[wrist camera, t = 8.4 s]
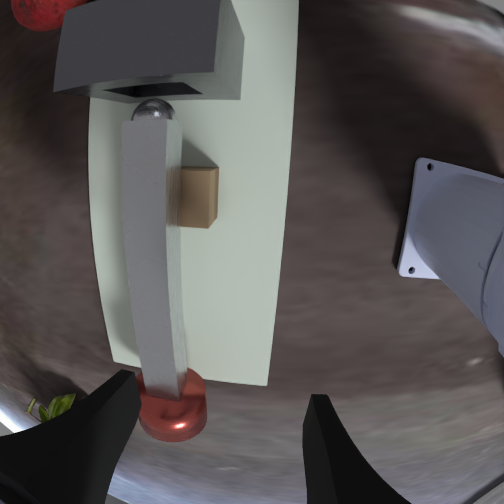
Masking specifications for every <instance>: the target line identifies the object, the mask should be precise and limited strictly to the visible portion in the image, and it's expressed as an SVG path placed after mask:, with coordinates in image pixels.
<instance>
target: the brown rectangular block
mask: <svg viewBox="0 0 504 504" xmlns="http://www.w3.org/2000/svg"><path fill="white" fill-rule="evenodd" d="M218 185H219V167H197V166H181V196H180V227H191V228H205V229H209V227H210V226H211V225H212V224H213V222H214V221H215V220H216V219H217V213H218Z"/></svg>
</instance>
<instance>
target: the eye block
mask: <svg viewBox="0 0 504 504" xmlns="http://www.w3.org/2000/svg"><path fill="white" fill-rule="evenodd" d="M244 41H245V37H244V34H243V31H242V28H241V26H240V23H239V20H238V17H237V15H236V12H235V9H234V7H233V4H232V1H231V0H97V1H94V2H90V3H87V4H84V5H81V6H78V7H75V8H72V9H69V10H66V11H65V16H64V20H63V25H62V30H61V36H60V41H59V47H58V54H57V61H56V68H55V77H54V87H53V92H54V93H63V94H71V95H78V96H85V97H92V98H98V99H105V100H110V101H116V102H122V103H127V104H131V103H142V102H144V101H146V100H149V99H162V100H164V101H175V100H240V99H241V84H242V69H243V55H244Z"/></svg>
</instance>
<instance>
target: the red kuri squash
mask: <svg viewBox="0 0 504 504" xmlns="http://www.w3.org/2000/svg"><path fill="white" fill-rule="evenodd" d="M87 2H88V0H11V8H12V12H13V15H14V17H15V19H16V20H17V22H18V23H19V24H21V25H23V26H25V27H27V28H29V29H31V30H32V31H37V32H45V31H50V30H55V29H58V28H61V27H62V25H63V20H64V16H65V11H66V10H69V9H72V8H75V7H78V6H81V5H84V4H86V3H87Z"/></svg>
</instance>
